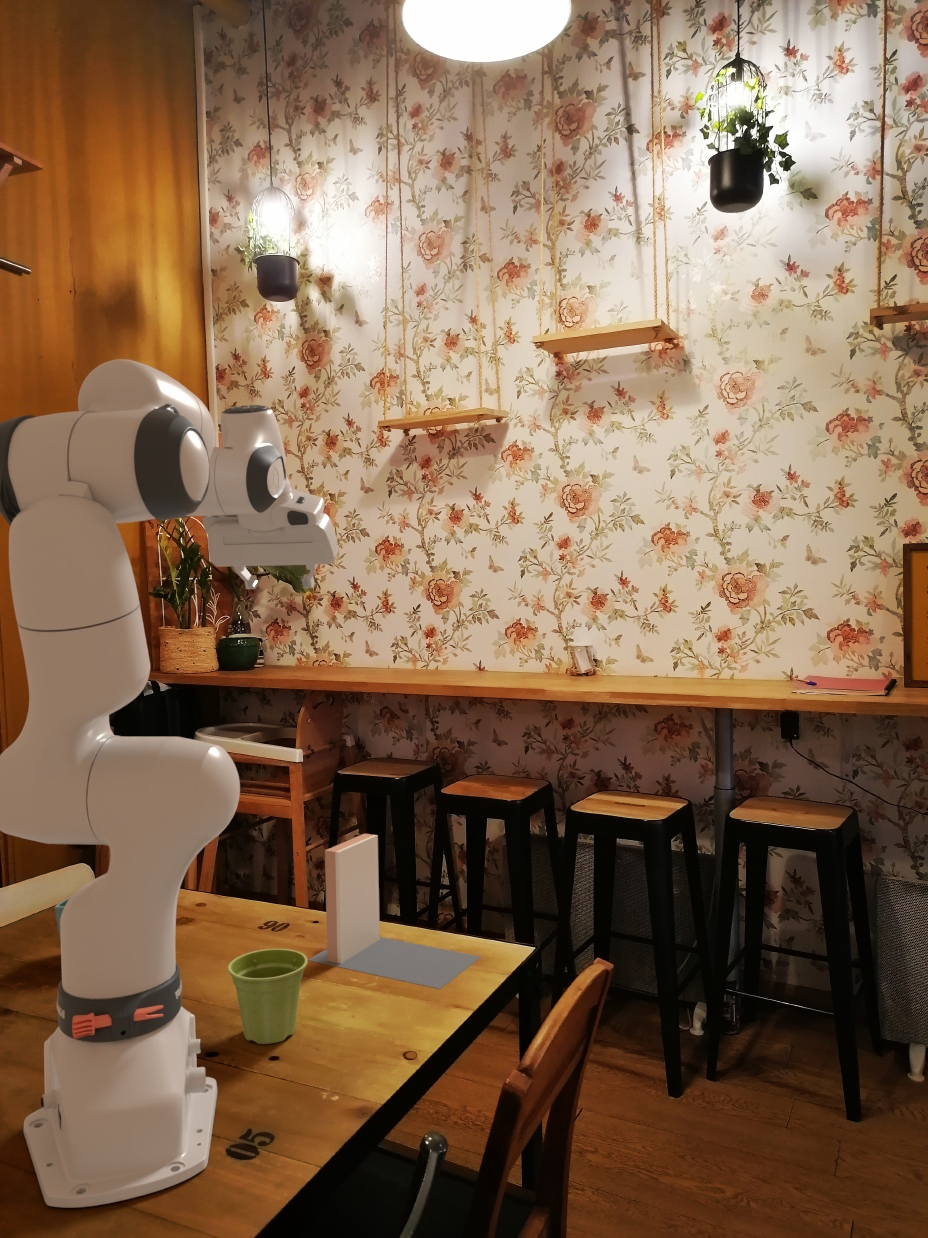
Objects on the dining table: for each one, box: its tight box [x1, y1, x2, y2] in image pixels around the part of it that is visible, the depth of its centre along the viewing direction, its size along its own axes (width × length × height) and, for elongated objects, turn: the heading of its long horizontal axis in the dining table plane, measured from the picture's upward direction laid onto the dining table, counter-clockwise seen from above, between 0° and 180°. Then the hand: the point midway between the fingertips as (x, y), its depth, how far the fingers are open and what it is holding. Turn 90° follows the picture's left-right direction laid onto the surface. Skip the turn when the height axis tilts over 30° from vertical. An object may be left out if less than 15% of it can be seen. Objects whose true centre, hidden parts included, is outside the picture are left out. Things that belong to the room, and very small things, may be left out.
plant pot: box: [227, 948, 308, 1045], centre depth 113 cm, size 9×9×9 cm
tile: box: [324, 833, 381, 964], centre depth 137 cm, size 2×10×16 cm, turn 152°
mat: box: [307, 936, 482, 990], centre depth 134 cm, size 22×12×1 cm, turn 62°
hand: (280, 587), depth 150 cm, fingers open, 8 cm apart
